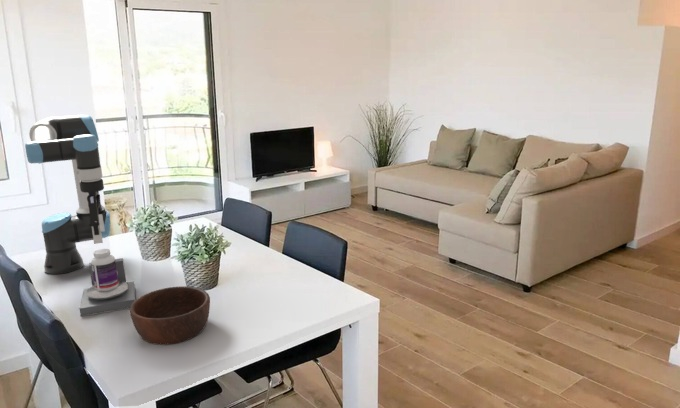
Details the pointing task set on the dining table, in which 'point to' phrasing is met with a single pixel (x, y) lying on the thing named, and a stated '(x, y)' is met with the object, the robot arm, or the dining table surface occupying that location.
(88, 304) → the dial scale
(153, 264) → the dining table surface
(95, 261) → the pill bottle
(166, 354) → the dining table surface
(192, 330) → the wooden bowl
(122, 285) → the scale pan
